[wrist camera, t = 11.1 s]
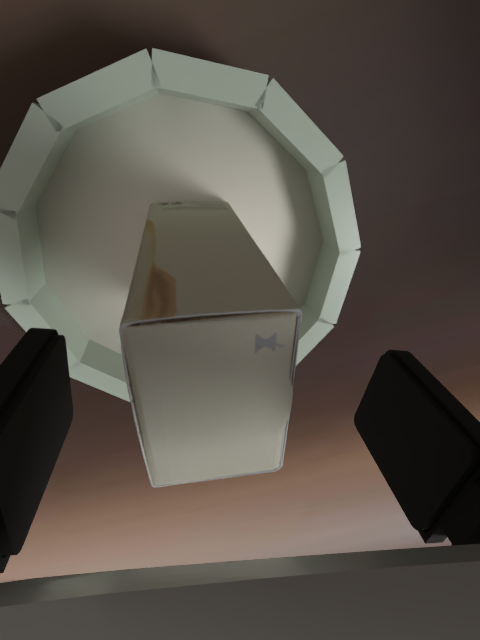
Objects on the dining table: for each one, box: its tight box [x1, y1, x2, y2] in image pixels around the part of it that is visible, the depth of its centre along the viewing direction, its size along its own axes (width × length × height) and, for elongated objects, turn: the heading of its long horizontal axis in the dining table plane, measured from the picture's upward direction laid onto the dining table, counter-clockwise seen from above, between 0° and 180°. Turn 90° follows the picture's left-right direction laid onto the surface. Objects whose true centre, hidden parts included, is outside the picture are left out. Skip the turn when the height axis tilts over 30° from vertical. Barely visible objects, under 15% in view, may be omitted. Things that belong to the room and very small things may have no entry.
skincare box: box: [119, 201, 302, 487], centre depth 14 cm, size 6×4×12 cm
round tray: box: [0, 48, 361, 402], centre depth 19 cm, size 18×18×3 cm
